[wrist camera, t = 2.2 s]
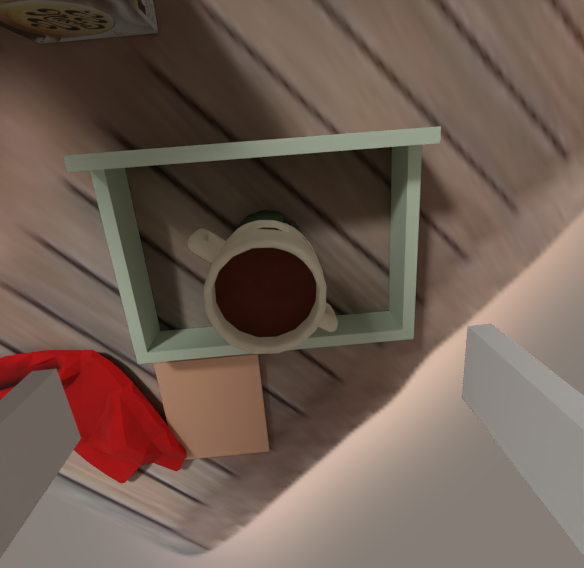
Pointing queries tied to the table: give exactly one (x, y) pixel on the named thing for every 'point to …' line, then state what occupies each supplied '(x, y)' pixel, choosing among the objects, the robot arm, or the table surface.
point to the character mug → (263, 285)
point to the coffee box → (77, 19)
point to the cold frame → (116, 191)
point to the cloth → (102, 411)
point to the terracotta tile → (215, 404)
